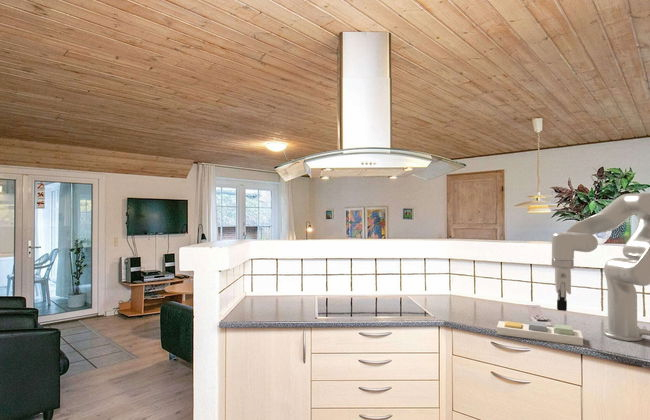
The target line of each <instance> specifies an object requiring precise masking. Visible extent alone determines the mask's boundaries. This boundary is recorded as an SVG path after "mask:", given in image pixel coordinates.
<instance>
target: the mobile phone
mask: <svg viewBox="0 0 650 420" xmlns="http://www.w3.org/2000/svg"><path fill="white" fill-rule="evenodd" d="M526 305H527V306H526V308H527V309H528V312H529V316H530V321H533V322H542V323H546V327H553V326H552V323H551V322H550V320H548V319H547V318H546V317H545V316H544V314H543V310H542V306H541V305H540V304H538V305H537V304H526Z"/></svg>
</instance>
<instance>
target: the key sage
mask: <svg viewBox="0 0 650 420" xmlns="http://www.w3.org/2000/svg"><path fill="white" fill-rule="evenodd" d="M554 328H555V333H558V334H566V335H573V330H574V328H573V326H572V325H568V324H567V325H566V324H558V323H554Z"/></svg>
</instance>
